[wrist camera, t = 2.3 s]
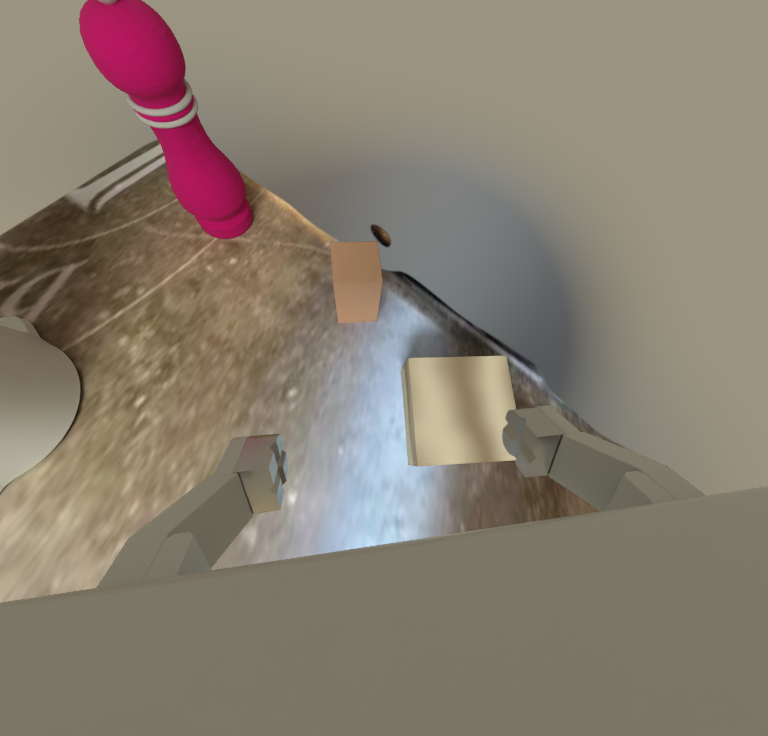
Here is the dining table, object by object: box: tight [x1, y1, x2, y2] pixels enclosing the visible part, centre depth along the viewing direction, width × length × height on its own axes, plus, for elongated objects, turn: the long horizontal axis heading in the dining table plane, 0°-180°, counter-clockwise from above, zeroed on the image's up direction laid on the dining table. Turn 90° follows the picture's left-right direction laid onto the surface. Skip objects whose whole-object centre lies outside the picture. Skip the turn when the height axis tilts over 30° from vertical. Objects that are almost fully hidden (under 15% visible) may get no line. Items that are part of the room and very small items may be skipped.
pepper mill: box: [79, 0, 253, 239], centre depth 27 cm, size 7×7×20 cm
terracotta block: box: [330, 241, 383, 323], centre depth 31 cm, size 4×4×8 cm
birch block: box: [401, 356, 516, 466], centre depth 30 cm, size 10×10×5 cm
